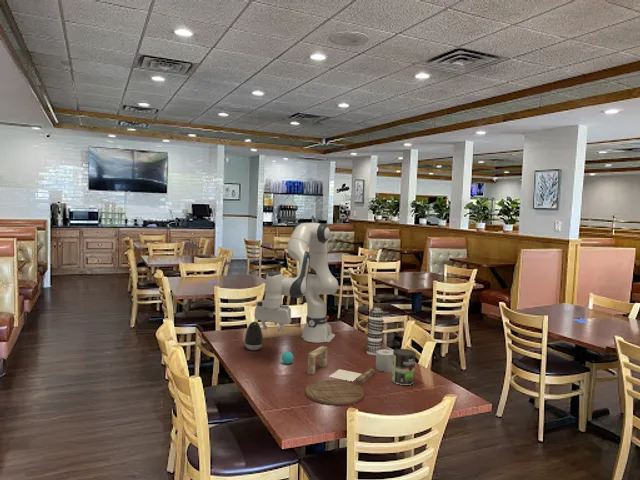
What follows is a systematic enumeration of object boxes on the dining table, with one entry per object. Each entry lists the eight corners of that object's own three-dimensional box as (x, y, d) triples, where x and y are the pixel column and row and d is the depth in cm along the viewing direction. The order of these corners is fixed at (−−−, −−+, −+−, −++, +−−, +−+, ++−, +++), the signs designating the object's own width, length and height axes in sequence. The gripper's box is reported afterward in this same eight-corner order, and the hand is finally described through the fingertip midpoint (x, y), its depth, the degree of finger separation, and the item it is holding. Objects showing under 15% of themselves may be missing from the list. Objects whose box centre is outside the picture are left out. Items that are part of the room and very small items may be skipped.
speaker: (240, 350, 261) (241, 322, 260) (250, 345, 271) (251, 318, 270) (256, 352, 257) (257, 325, 256) (266, 347, 267) (267, 321, 266)
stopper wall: (370, 373, 232) (370, 368, 231) (373, 374, 231) (374, 369, 231) (355, 385, 216) (356, 379, 215) (360, 386, 215) (360, 380, 214)
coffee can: (418, 384, 220) (420, 354, 219) (400, 387, 215) (402, 356, 214) (405, 376, 229) (406, 347, 228) (387, 379, 224) (388, 350, 224)
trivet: (373, 404, 196) (373, 399, 196) (314, 409, 189) (314, 404, 189) (352, 382, 220) (352, 378, 220) (299, 386, 213) (299, 381, 213)
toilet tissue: (400, 374, 232) (401, 357, 231) (373, 370, 236) (374, 353, 236) (403, 368, 240) (404, 352, 240) (377, 365, 245) (378, 348, 244)
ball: (285, 360, 246) (285, 349, 245) (295, 362, 243) (295, 351, 243) (279, 364, 240) (279, 352, 240) (289, 366, 238) (289, 354, 237)
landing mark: (339, 369, 236) (339, 369, 236) (361, 374, 230) (362, 373, 230) (328, 376, 225) (328, 376, 225) (352, 381, 220) (352, 381, 219)
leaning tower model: (364, 354, 262) (366, 309, 260) (367, 349, 271) (369, 305, 269) (381, 356, 260) (383, 310, 258) (383, 351, 269) (385, 307, 267)
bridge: (307, 373, 228) (308, 353, 227) (321, 364, 242) (322, 346, 241) (313, 374, 227) (313, 354, 226) (326, 366, 240) (327, 347, 240)
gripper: (294, 305, 242) (292, 332, 243) (260, 300, 251) (259, 326, 252) (287, 307, 236) (286, 334, 237) (253, 302, 246) (252, 328, 246)
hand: (272, 330), depth 245 cm, fingers open, 7 cm apart
